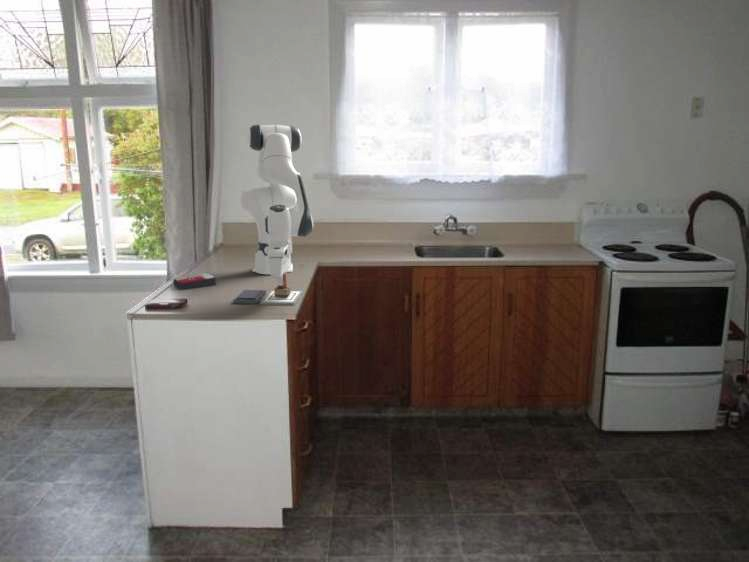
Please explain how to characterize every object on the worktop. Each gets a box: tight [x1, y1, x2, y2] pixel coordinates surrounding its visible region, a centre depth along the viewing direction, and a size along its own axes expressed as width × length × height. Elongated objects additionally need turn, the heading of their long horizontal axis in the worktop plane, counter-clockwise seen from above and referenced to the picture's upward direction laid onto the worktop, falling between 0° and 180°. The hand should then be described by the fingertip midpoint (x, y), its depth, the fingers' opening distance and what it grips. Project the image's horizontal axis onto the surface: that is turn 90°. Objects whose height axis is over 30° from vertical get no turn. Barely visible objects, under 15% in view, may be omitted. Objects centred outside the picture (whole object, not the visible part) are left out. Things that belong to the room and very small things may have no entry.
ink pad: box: [232, 289, 267, 305], centre depth 239 cm, size 14×9×2 cm, turn 176°
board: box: [259, 290, 304, 306], centre depth 239 cm, size 18×13×1 cm
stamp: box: [273, 272, 292, 297], centre depth 237 cm, size 6×5×9 cm
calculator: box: [173, 272, 217, 291], centre depth 261 cm, size 11×4×15 cm
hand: (282, 283), depth 238 cm, fingers closed on stamp, 3 cm apart
